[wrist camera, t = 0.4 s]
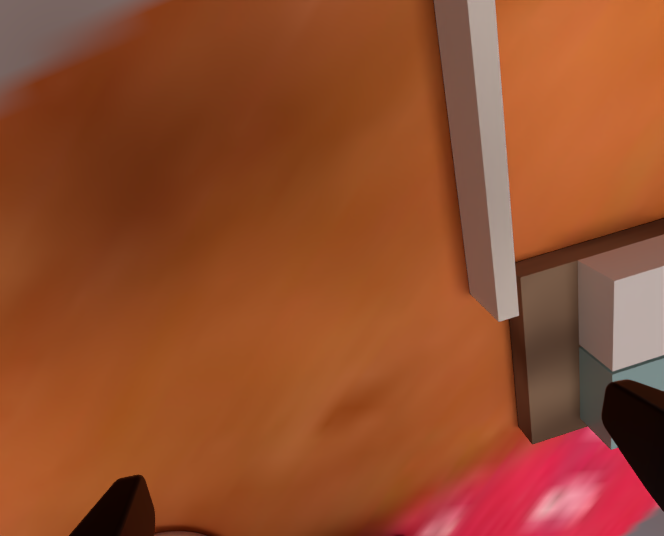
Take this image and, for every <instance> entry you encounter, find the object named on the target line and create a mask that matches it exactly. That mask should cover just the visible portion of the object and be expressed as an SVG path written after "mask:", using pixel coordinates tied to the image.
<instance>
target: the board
mask: <svg viewBox="0 0 664 536" xmlns="http://www.w3.org/2000/svg"><path fill="white" fill-rule="evenodd" d="M663 234H664V218H663V219H660V220H657V221H653V222H650V223H647V224H643V225H640V226H637V227H633V228H630V229H627V230H623V231H620V232H617V233H613V234H610V235H606V236H603V237H600V238H596V239H593V240H590V241H586V242H583V243H580V244H576V245H573V246H570V247H566V248H563V249H560V250H556V251H553V252H550V253H546V254H543V255H540V256H536V257H533V258H530V259H526V260H523V261H519V262H516V263H515V270H516V283H517V296H518V309H519V316H516V317H513V318H510V319H509V322H510V333H511V345H512V357H513V368H514V380H515V391H516V403H517V414H518V426H519V428H520V429H521V430H522V432H523V433H524V434H525V436H526V437H527V438H528V439H529V441H530V442H531V443H532V444H535V443H538V442H541V441H544V440H547V439H550V438H553V437H557V436H560V435H563V434H566V433H569V432H572V431H575V430H578V429H581V428H584V427H587V425H586V424H585V423H584V422H583V421H582V420H581V419H580V376H579V347H582V346H580V345H579V312H578V260H580V259H584V258H587V257H590V256H594V255H597V254H600V253H604V252H607V251H610V250H614V249H617V248H620V247H624V246H627V245H630V244H634V243H637V242H640V241H644V240H647V239H650V238H653V237H657V236H660V235H663Z"/></svg>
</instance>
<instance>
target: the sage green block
mask: <svg viewBox="0 0 664 536" xmlns="http://www.w3.org/2000/svg"><path fill="white" fill-rule="evenodd" d="M579 376H580V419H581V420H582V421H583V422H584V423H585V424H586V425H587V426H588V427H589V428H590V429H591V430H592V431H593V432H594V433H595V434H596V435H597V436H598V437H599V438H600V439H601V440H602V441H603V442H604V443H605V444H606V445H607V446H608V447H609V448H610V449H611V450H612V449H615V448H618V447H617V445H616V444H615V442H614V441H613V439H612V438H611V436H610V435H609V433H608V432H607V430H606V429H605V427H604V425H603V422H602V418H601V413H602V407H603V401H604V394H605V389H606V386H607V385H608V384H609V383H611V382H614V381H619V380H625V379H629V380H633V381H636V382H639V383H642V384H644V385H647V386H650V387H653V388H656V389H659V390H661V391H664V355H662V356H659V357H656V358H653V359H650V360H647V361H644V362H640V363H637V364H634V365H631V366H628V367H625V368H622V369H619V370H616V371H611V370H610V369H609V368H608V367H606V366H605V365H604V364H603V363H601V362H600V361H599V360H598V359H597V358H595V357H594V356H593V355H592V354H590V353H589V352H588V351H587V350H585V349H584V348H583V347H579Z"/></svg>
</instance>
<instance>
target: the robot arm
mask: <svg viewBox="0 0 664 536" xmlns="http://www.w3.org/2000/svg"><path fill="white" fill-rule="evenodd" d="M601 418H602V422H603V425H604V427H605V429H606V430H607V432H608V433H609V435H610V436H611V438H612V439H613V441H614V442H615V444H616V445H617V447H618V448H619V450H620V451H621V453H622V454H623V455H624V457H625V458H626V460H627V461H628V463H629V464H630V466H631V467H632V469H633V470H634V472H635V473H636V475H637V476H638V478H639V479H640V481H641V482H642V483H643V485H644V486H645V488H646V489H647V491H648V492H649V493H650V495H651V496H652V497H653V499H654V500H655V501H656V503H657V504H658V505H659V506H660V508H661V509H662V510H663V511H664V391H661V390H659V389H656V388H653V387H650V386H647V385H644V384H642V383H639V382H636V381H633V380H629V379H625V380H619V381H614V382H611V383H609V384H608V385H607V386H606V389H605V394H604V401H603V407H602V413H601ZM154 530H155V511H154V506H153V503H152V500H151V497H150V494H149V490H148V487H147V484H146V481H145V479H144V477H143V476H142V475H134V476H129V477H124V478H120V479H118V480H117V481H115V482H114V483H113V485H112V486H111V487H110V488H109V489H108V490H107V492H106V493H105V494H104V495H103V496H102V498H101V499H100V500H99V501H98V502H97V503H96V505H95V506H94V507H93V508H92V509H91V510H90V512H89V513H88V514H87V515H86V516H85V517H84V519H83V520H82V521H81V522H80V523H79V524H78V526H77V527H76V528H75V529H74V530H73V531H72V533H71V534H70V535H69V536H154Z"/></svg>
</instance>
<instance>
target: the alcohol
mask: <svg viewBox="0 0 664 536" xmlns="http://www.w3.org/2000/svg"><path fill="white" fill-rule="evenodd" d="M154 536H206V535H203V534H200V533H195V532H188V531H169V532H161V533H156V534H154Z"/></svg>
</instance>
